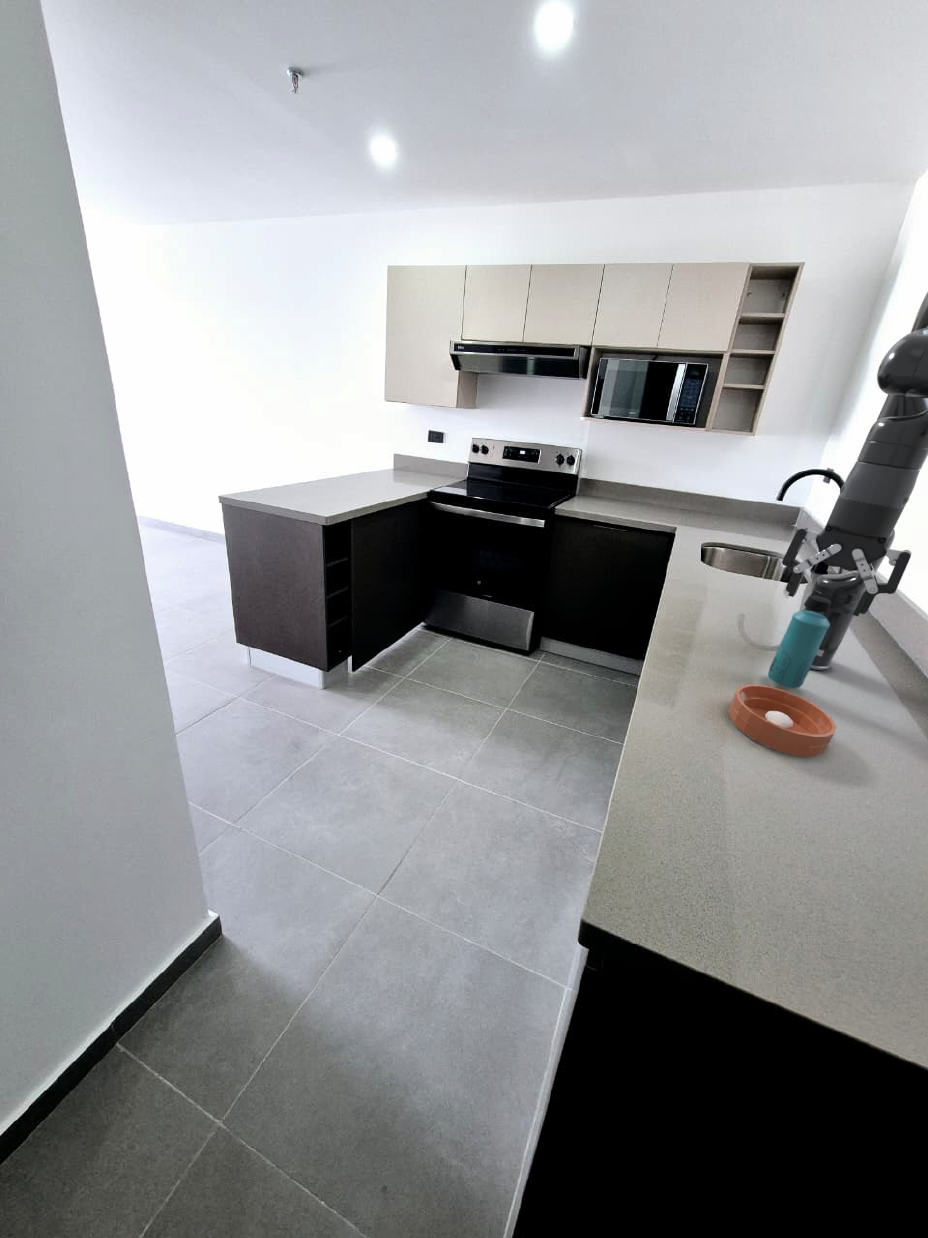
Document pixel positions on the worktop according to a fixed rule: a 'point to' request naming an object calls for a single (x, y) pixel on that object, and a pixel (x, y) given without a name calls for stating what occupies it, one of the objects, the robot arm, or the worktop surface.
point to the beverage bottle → (800, 644)
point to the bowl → (800, 739)
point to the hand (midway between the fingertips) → (822, 604)
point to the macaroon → (779, 719)
